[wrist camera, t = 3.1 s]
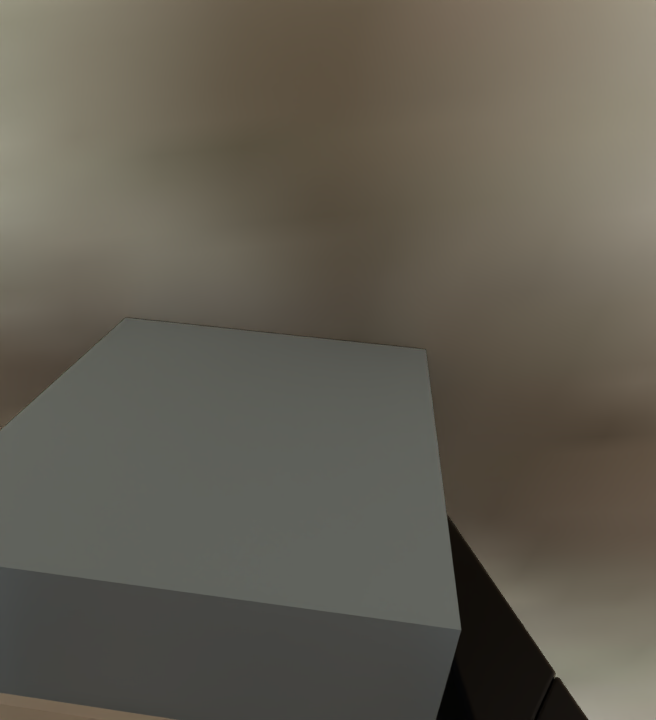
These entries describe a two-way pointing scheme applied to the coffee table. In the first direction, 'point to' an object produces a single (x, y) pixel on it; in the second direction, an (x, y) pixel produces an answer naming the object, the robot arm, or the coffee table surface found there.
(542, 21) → the coffee table surface
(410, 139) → the coffee table surface
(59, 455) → the cube
